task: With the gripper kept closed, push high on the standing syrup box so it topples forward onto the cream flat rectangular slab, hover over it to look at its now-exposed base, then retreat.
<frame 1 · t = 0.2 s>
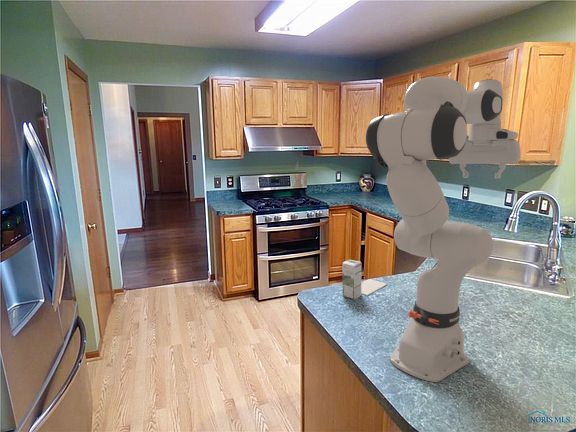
hand: (481, 178, 112), 48 cm above the countertop, fingers open, 8 cm apart
cream flat rectangular slab: (368, 287, 147), on the countertop
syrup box: (352, 296, 139), on the countertop
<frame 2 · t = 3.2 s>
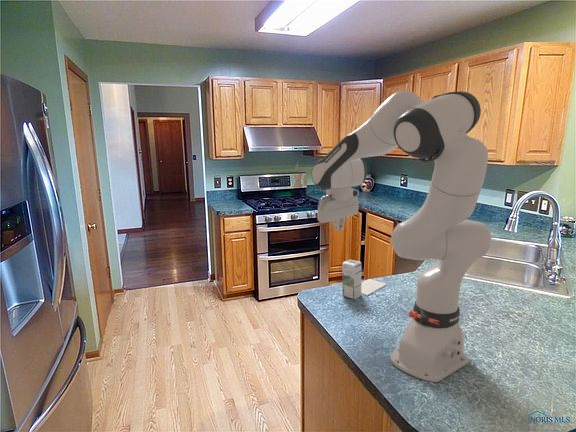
hand: (338, 230, 128), 29 cm above the countertop, fingers closed
nothing on the countertop moved.
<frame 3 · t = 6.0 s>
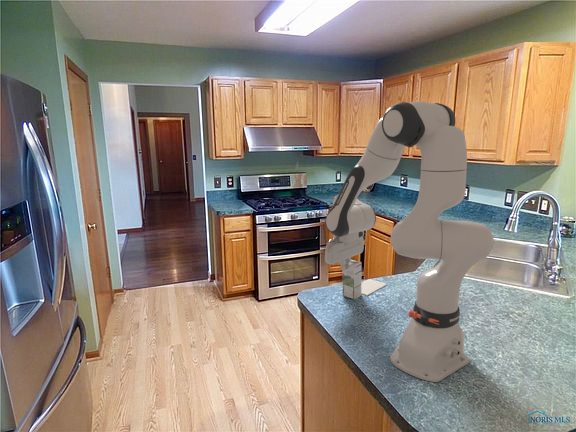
hand: (344, 269, 134), 13 cm above the countertop, fingers closed
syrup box: (352, 296, 139), on the countertop, touching gripper
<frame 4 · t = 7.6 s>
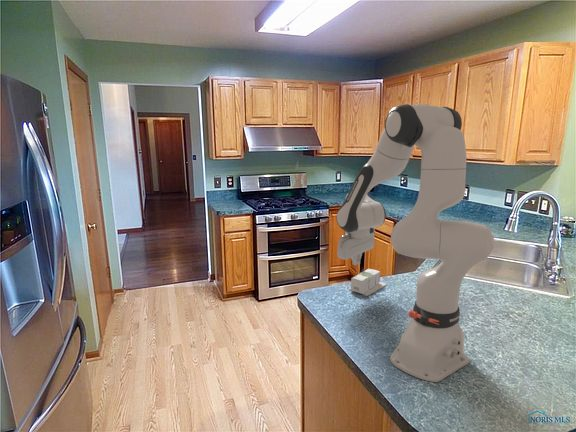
hand: (356, 264, 139), 13 cm above the countertop, fingers closed
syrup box: (356, 286, 140), point 3 cm above the countertop, touching cream flat rectangular slab
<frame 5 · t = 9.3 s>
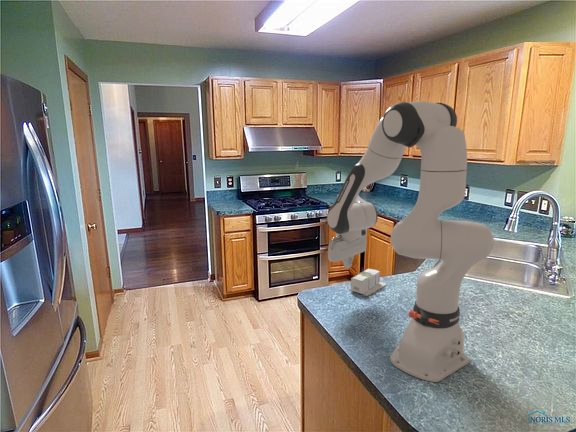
hand: (347, 267, 134), 13 cm above the countertop, fingers closed
nothing on the countertop moved.
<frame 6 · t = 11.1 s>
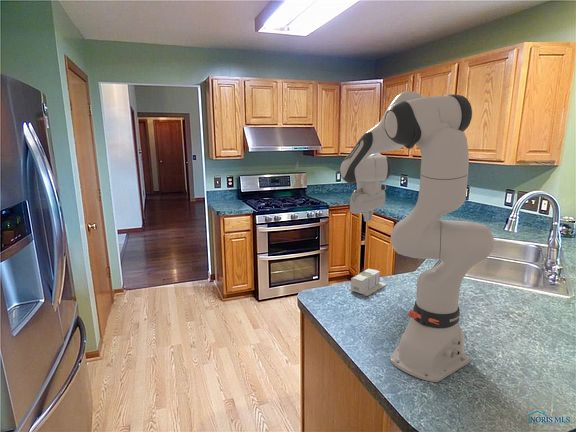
hand: (367, 221, 141), 29 cm above the countertop, fingers closed
nothing on the countertop moved.
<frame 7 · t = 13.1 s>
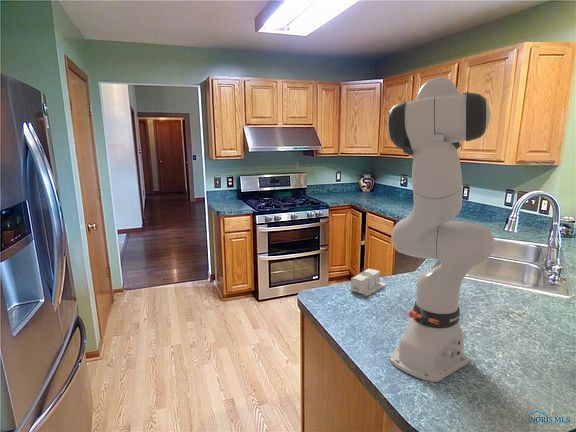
hand: (441, 199, 128), 39 cm above the countertop, fingers closed
nothing on the countertop moved.
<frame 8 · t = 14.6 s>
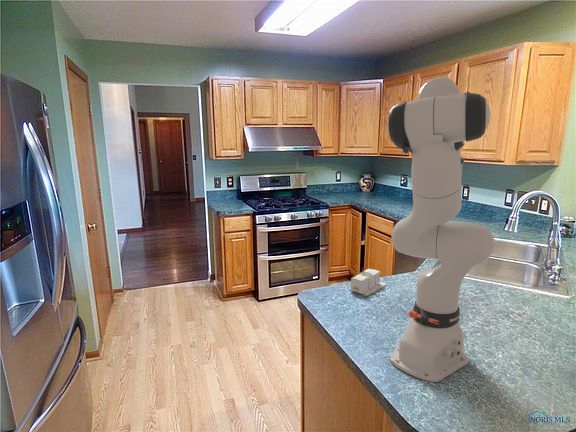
hand: (444, 198, 127), 39 cm above the countertop, fingers closed
nothing on the countertop moved.
at the end: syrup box tilted 90°; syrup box inside the target area (6.3 cm from its centre), point 3.4 cm above the countertop; the gripper is holding nothing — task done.
